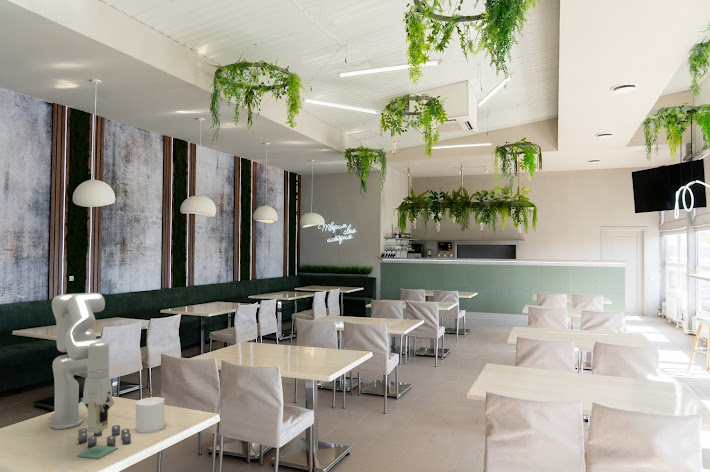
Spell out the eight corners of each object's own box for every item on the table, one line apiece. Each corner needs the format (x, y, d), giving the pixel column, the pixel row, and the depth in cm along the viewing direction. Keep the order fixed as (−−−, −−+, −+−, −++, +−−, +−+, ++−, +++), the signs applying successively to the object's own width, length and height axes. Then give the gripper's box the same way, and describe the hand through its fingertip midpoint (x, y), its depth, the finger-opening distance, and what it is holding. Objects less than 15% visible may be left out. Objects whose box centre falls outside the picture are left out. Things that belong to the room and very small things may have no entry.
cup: (143, 423, 224) (143, 397, 224) (168, 423, 224) (168, 397, 224) (130, 433, 212) (130, 405, 213) (157, 433, 212) (157, 405, 212)
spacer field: (63, 444, 200) (63, 436, 200) (94, 430, 215) (94, 422, 215) (115, 451, 193) (115, 442, 193) (143, 436, 208) (143, 427, 208)
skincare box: (96, 433, 188) (97, 401, 188) (87, 432, 189) (87, 401, 189) (108, 427, 194) (108, 396, 195) (99, 427, 195) (99, 396, 196)
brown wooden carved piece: (161, 414, 237) (161, 389, 237) (162, 416, 234) (163, 391, 234) (141, 417, 232) (141, 391, 233) (142, 419, 229) (143, 393, 229)
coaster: (76, 456, 188) (76, 455, 188) (97, 446, 198) (97, 445, 198) (98, 459, 185) (98, 457, 185) (117, 449, 195) (117, 447, 195)
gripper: (73, 375, 191) (72, 422, 190) (109, 377, 187) (108, 426, 186) (88, 370, 198) (88, 416, 198) (123, 372, 194) (123, 419, 193)
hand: (98, 420), depth 192 cm, fingers closed on skincare box, 4 cm apart
